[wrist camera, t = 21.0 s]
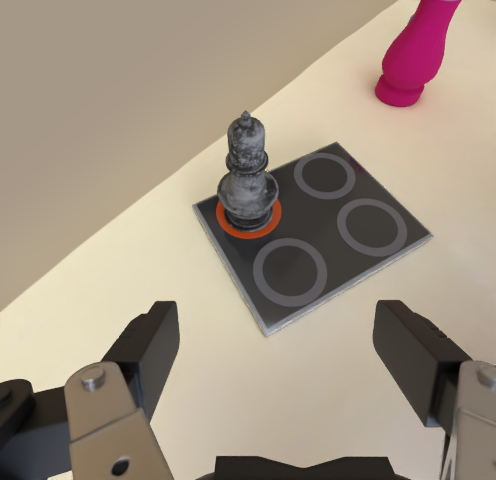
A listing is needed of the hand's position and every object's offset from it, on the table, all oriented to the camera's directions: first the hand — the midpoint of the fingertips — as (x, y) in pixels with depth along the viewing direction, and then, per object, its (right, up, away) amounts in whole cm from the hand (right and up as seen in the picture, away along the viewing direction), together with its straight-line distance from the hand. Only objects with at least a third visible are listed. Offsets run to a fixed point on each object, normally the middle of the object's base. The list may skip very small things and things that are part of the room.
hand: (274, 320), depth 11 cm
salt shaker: (-1, +6, +19) cm, 20 cm away
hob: (+5, +5, +20) cm, 21 cm away
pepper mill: (+21, +25, +31) cm, 45 cm away
